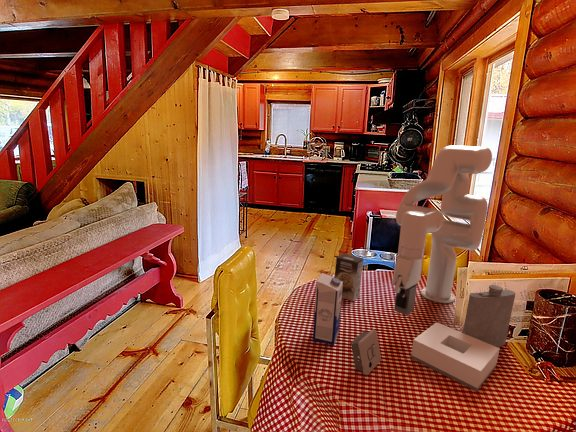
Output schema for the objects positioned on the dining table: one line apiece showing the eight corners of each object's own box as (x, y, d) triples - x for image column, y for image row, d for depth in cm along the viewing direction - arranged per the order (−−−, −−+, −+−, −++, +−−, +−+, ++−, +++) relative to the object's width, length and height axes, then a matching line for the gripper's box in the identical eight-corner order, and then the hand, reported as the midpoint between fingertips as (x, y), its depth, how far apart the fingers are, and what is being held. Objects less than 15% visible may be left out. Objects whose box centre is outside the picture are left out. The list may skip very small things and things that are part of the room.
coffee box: (332, 295, 140) (335, 257, 137) (339, 289, 146) (342, 252, 142) (354, 301, 136) (357, 262, 132) (360, 295, 141) (363, 257, 137)
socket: (433, 339, 113) (436, 322, 111) (495, 367, 100) (499, 348, 99) (410, 358, 103) (413, 339, 101) (476, 391, 90) (480, 371, 89)
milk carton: (318, 329, 116) (322, 272, 111) (338, 333, 113) (343, 275, 109) (312, 340, 109) (316, 280, 104) (333, 345, 107) (338, 284, 102)
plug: (400, 308, 118) (404, 280, 115) (413, 313, 115) (416, 285, 112) (394, 313, 115) (397, 284, 112) (406, 318, 112) (410, 289, 109)
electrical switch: (366, 377, 94) (366, 345, 92) (349, 370, 97) (349, 339, 95) (381, 361, 101) (381, 330, 99) (364, 355, 104) (365, 325, 102)
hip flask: (499, 339, 115) (510, 281, 110) (509, 346, 111) (522, 287, 106) (458, 345, 110) (468, 285, 106) (467, 352, 106) (479, 291, 102)
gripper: (412, 242, 118) (406, 292, 122) (385, 254, 106) (380, 308, 111) (435, 248, 112) (427, 300, 117) (408, 261, 101) (402, 318, 106)
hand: (404, 303), depth 114 cm, fingers closed on plug, 4 cm apart
